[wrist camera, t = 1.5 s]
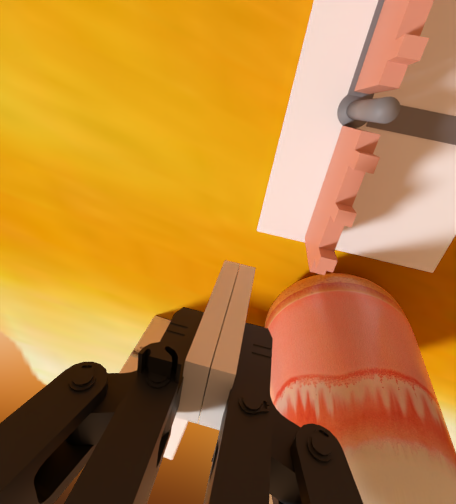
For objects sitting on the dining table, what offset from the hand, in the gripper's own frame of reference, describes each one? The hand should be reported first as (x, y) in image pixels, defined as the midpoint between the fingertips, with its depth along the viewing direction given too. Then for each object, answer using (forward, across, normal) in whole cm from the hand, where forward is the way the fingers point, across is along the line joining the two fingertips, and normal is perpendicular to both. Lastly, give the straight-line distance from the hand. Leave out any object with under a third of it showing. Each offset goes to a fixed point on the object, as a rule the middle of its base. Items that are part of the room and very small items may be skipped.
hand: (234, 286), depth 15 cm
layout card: (+16, +10, +8) cm, 21 cm away
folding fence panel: (+16, +6, +3) cm, 17 cm away
